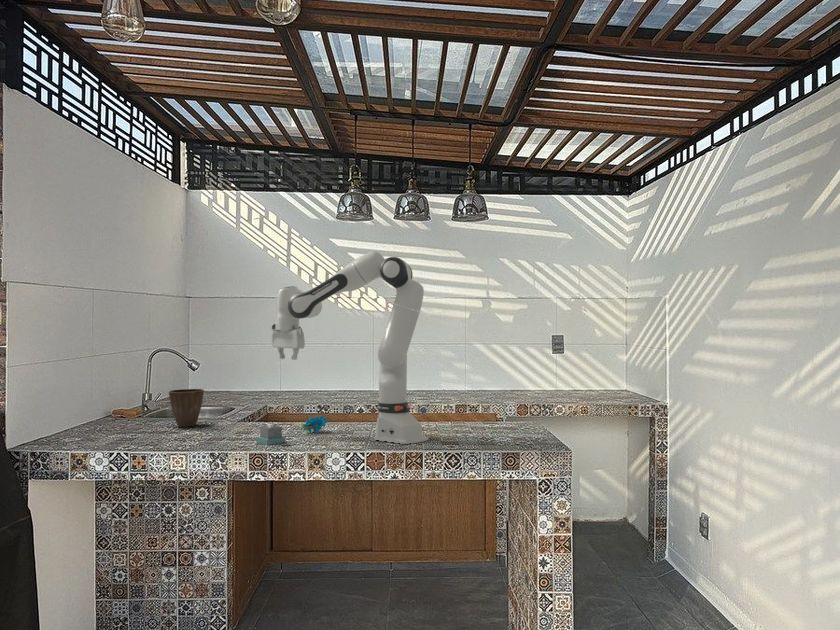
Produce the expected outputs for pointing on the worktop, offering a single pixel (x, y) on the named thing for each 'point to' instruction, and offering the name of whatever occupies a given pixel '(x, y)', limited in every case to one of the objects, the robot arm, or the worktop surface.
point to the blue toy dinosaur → (314, 424)
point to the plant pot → (186, 405)
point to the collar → (271, 432)
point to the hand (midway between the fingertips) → (288, 359)
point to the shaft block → (270, 441)
